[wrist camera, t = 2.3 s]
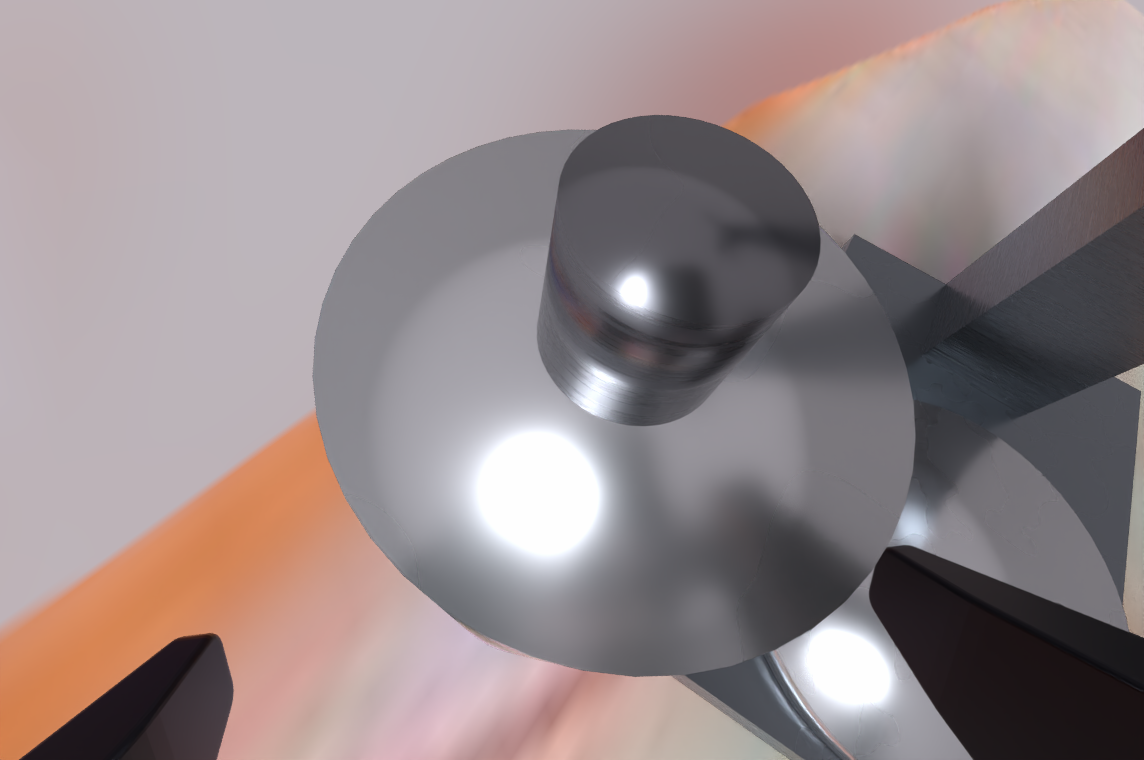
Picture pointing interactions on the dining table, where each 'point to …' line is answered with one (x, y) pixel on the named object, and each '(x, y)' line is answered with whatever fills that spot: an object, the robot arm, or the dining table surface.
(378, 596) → the dining table surface
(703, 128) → the silver metal bottle
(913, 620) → the robot arm
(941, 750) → the stand
